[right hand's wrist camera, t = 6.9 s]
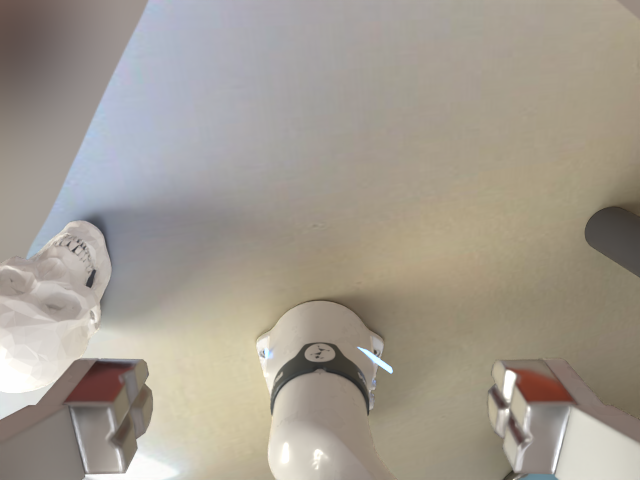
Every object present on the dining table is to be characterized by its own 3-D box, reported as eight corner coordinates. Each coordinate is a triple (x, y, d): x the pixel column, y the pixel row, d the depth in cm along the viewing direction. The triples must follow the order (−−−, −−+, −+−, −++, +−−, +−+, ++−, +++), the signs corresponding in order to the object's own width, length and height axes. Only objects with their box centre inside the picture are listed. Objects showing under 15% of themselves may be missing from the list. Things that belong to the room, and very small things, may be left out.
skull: (139, 234, 60) (74, 285, 45) (98, 359, 67) (30, 439, 52) (42, 194, 58) (-58, 233, 44) (10, 326, 65) (-85, 399, 51)
